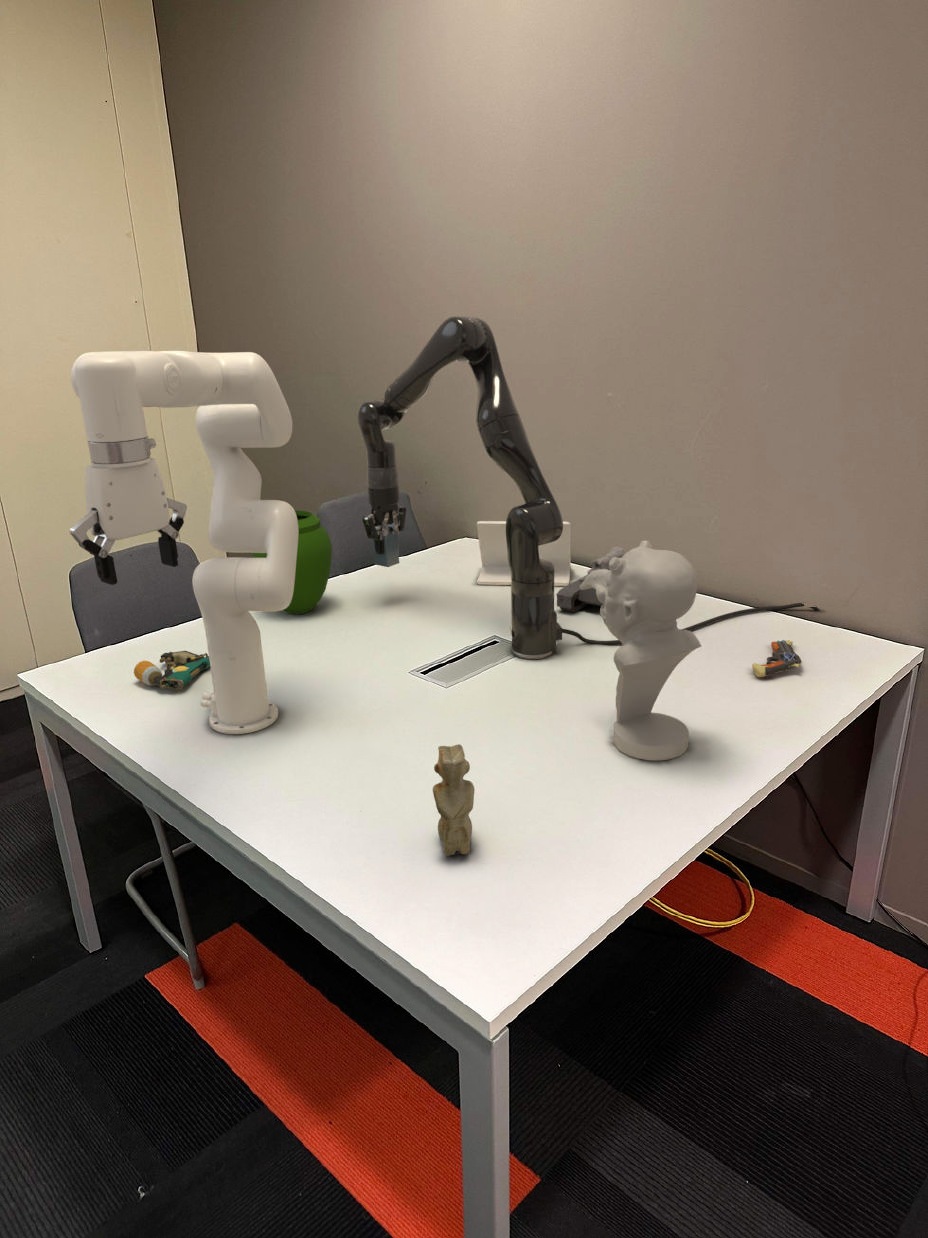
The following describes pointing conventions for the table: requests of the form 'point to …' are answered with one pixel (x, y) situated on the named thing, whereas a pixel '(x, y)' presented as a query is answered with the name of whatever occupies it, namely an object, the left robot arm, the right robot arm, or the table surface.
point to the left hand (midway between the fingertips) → (140, 573)
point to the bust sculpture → (646, 643)
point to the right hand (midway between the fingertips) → (387, 551)
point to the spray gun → (172, 669)
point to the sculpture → (454, 800)
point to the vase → (309, 564)
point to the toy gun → (778, 659)
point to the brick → (387, 550)
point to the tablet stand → (497, 562)
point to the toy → (576, 598)
